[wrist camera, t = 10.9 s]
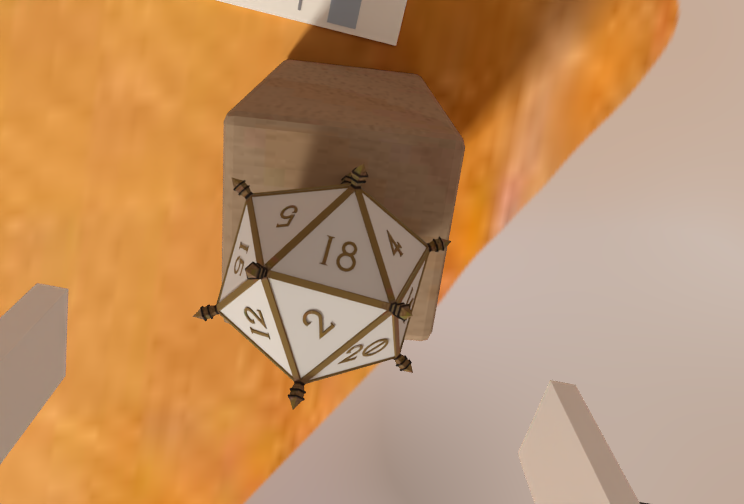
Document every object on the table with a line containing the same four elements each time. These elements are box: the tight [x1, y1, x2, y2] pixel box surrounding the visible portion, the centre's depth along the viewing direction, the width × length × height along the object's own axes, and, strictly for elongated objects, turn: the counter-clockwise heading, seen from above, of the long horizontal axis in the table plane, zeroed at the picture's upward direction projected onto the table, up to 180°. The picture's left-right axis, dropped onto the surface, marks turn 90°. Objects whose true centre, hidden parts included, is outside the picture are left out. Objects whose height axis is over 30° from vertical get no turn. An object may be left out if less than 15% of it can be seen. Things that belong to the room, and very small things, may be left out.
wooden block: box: [222, 59, 465, 341], centre depth 35 cm, size 10×10×20 cm
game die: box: [193, 162, 451, 409], centre depth 22 cm, size 9×8×10 cm
